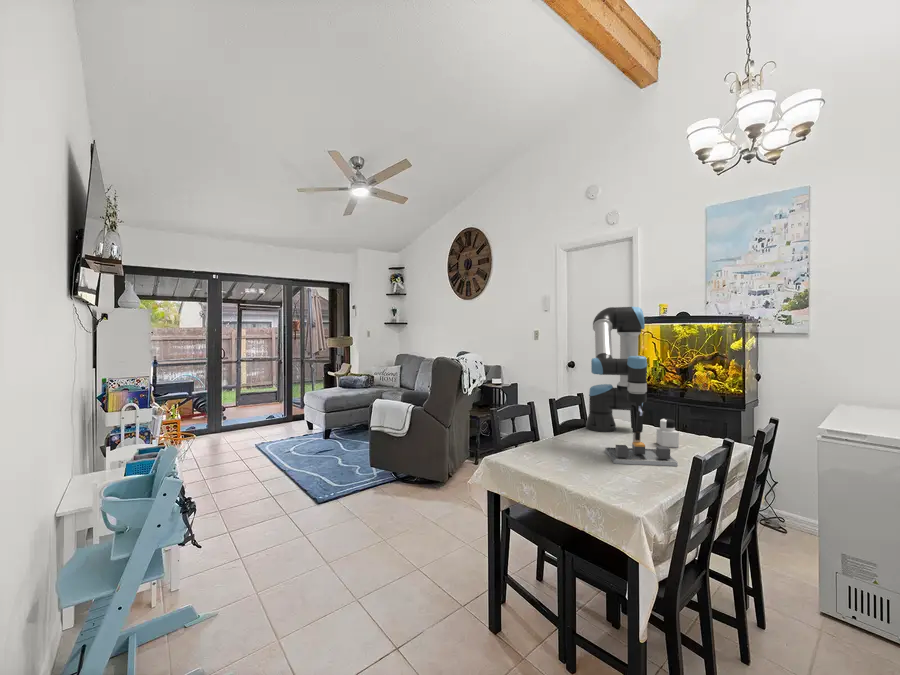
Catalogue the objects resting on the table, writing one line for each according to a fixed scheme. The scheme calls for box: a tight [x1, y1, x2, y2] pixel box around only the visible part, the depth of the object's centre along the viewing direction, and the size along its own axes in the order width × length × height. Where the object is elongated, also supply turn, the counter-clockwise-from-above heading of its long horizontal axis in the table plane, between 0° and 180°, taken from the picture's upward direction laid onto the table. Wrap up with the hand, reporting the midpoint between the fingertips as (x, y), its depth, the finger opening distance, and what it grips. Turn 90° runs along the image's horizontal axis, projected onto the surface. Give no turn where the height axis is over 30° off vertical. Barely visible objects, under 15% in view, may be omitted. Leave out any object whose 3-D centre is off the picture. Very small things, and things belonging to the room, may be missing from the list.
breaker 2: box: [655, 445, 671, 459], centre depth 166 cm, size 4×4×4 cm
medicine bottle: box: [655, 418, 680, 448], centre depth 188 cm, size 7×7×12 cm
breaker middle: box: [631, 441, 646, 454], centre depth 172 cm, size 4×4×4 cm
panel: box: [604, 447, 679, 467], centre depth 171 cm, size 16×24×2 cm, turn 81°
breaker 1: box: [615, 444, 629, 458], centre depth 168 cm, size 4×4×4 cm
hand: (636, 446), depth 175 cm, fingers closed
